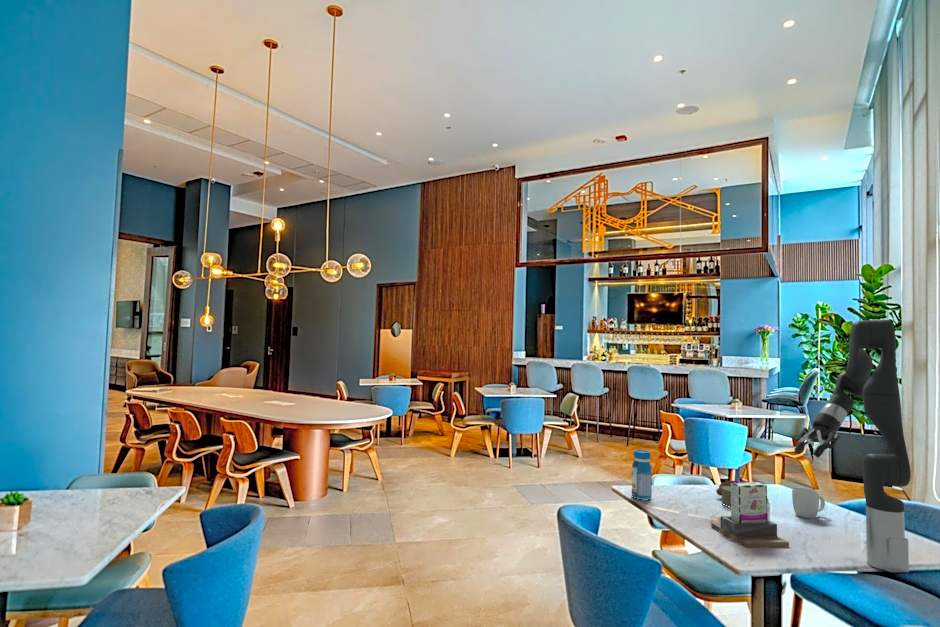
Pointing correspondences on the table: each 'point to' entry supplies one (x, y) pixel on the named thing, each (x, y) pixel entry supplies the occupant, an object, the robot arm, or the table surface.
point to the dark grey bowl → (726, 495)
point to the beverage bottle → (641, 475)
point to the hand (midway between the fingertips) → (806, 454)
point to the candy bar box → (749, 502)
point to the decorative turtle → (726, 483)
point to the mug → (807, 502)
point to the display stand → (751, 533)
